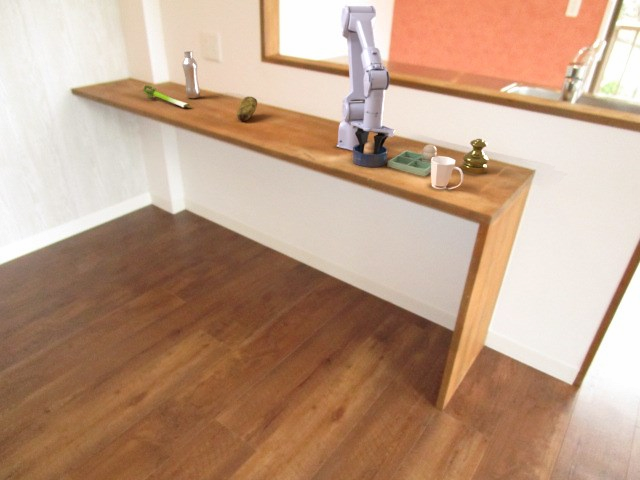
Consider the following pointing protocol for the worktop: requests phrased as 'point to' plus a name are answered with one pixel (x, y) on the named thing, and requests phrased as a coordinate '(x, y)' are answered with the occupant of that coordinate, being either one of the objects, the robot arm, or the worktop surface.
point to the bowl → (369, 157)
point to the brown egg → (369, 147)
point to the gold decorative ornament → (475, 158)
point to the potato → (246, 108)
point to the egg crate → (410, 163)
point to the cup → (443, 171)
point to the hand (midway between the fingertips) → (369, 154)
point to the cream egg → (428, 153)
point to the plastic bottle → (191, 75)
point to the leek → (163, 96)
